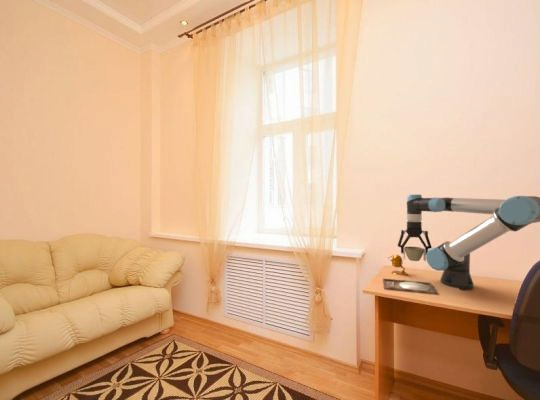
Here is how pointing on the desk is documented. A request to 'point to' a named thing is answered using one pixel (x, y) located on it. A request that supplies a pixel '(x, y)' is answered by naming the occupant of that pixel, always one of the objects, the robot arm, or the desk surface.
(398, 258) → the figurine
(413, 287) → the saucer
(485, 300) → the desk surface
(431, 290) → the tray
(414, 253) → the flower pot
